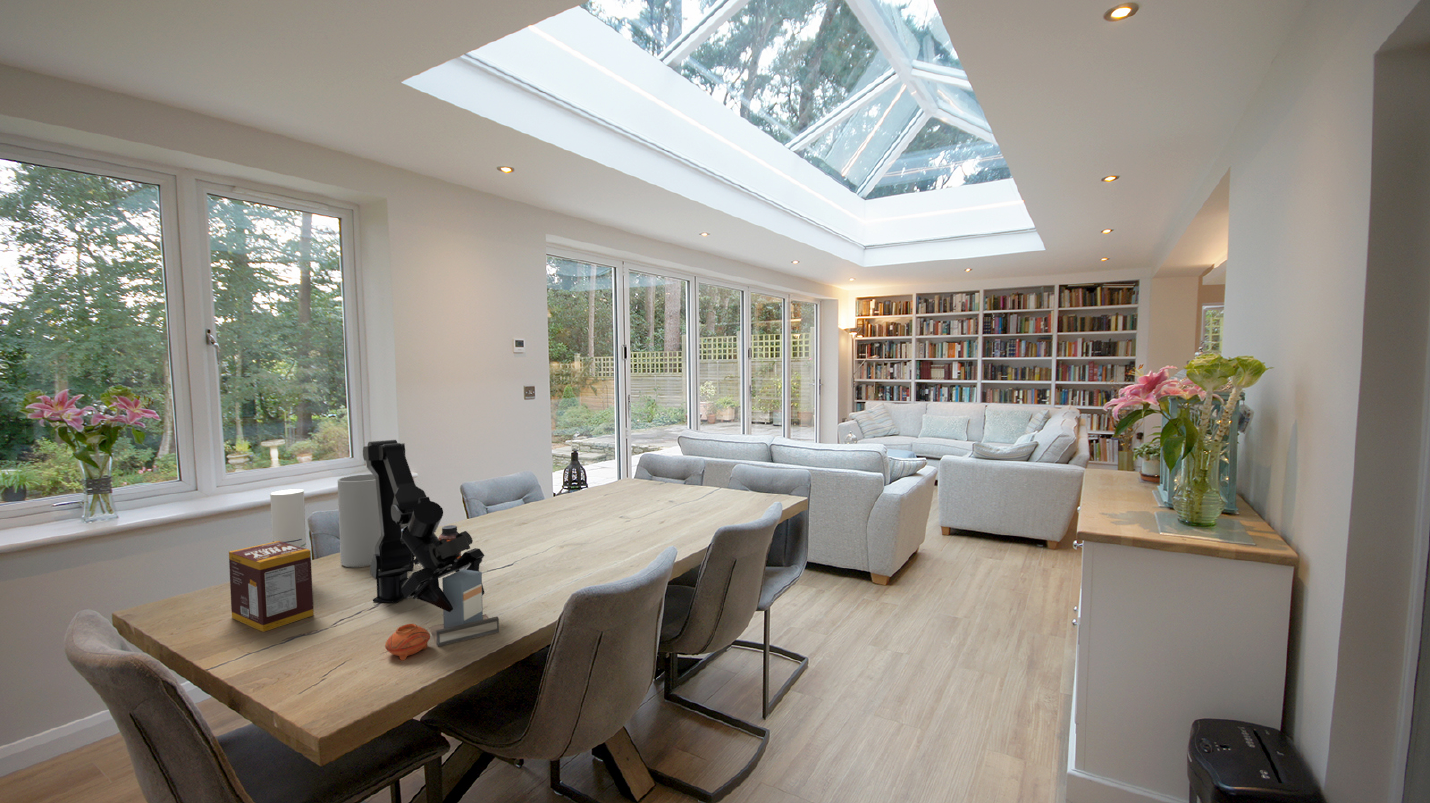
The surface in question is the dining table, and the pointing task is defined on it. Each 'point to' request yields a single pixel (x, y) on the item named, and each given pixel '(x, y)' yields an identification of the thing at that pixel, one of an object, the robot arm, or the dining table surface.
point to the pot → (407, 640)
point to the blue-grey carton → (463, 597)
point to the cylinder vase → (358, 519)
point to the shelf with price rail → (464, 631)
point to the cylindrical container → (288, 517)
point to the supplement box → (271, 585)
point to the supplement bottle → (449, 534)
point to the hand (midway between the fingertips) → (467, 602)
